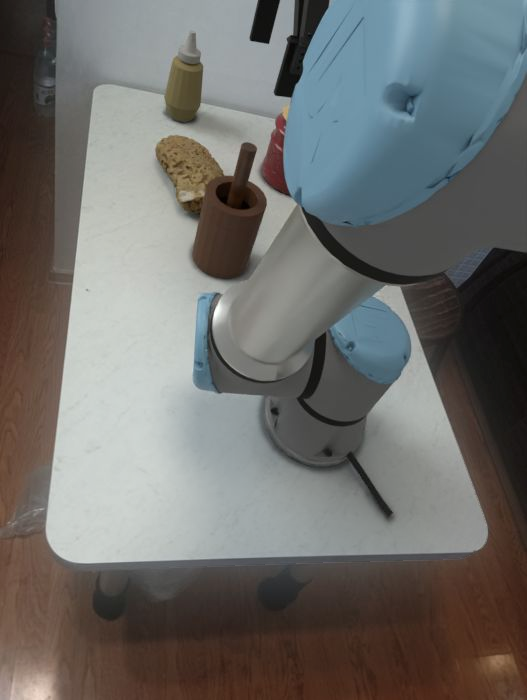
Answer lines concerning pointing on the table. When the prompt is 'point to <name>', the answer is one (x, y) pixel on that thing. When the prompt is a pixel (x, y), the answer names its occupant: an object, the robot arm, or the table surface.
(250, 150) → the brush
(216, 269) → the jar
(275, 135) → the kitchen canister
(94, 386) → the table surface
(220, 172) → the sponge
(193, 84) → the squeeze bottle
